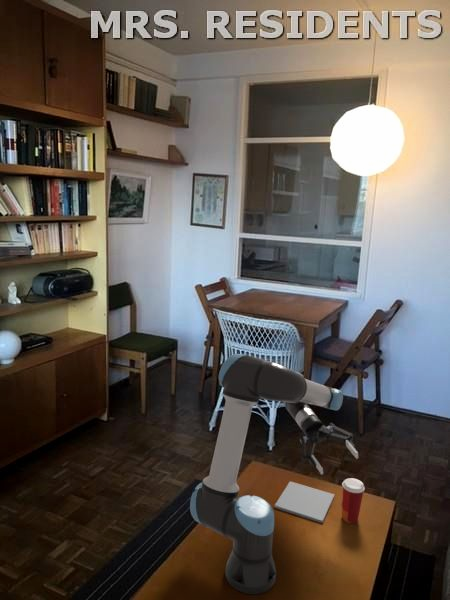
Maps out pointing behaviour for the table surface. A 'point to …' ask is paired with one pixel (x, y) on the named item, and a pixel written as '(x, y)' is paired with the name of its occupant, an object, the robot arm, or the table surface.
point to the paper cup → (351, 499)
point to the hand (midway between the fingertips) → (339, 463)
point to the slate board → (305, 501)
